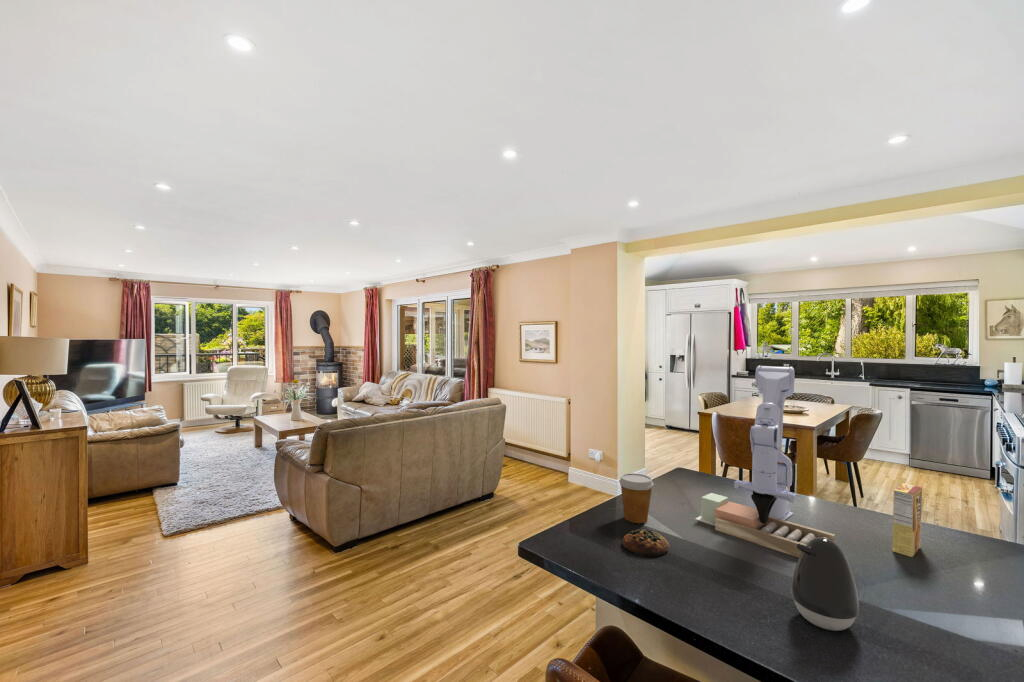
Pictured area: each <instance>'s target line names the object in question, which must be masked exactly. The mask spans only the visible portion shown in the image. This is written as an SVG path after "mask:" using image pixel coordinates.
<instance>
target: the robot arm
mask: <svg viewBox="0 0 1024 682" xmlns="http://www.w3.org/2000/svg"><path fill="white" fill-rule="evenodd" d="M795 372H796V371H795V368H794V367H793V366H768V365H758V366H756V368H755V378H754V379H755V384H756V388H757V390H758V393H759V394H760V395H762V403H760V404H759V405H757V407H756V414H755V420H754V424H753V425H751V426H750V431H749V433H750V434H749V440H750V446H751V447H750V448H751V449H750V450H751V451H750V452H751V453H752V457H751V458H752V461H751V463H752V466H751V467H752V469H751V470H752V471H751V481H744V480H739V479H737V480H735V481H734V483H733V484H734V489H736V490H743V491H744V490H745V491H748V492H752V494H751V495H750V497H751V500H752V502H753V504H754V505H755V509H757V511H758V514H759V518H760V522H761V523H764V524H765V523H766V522H768V517H769V516H770V517H774V518H777V519H781V520H785V521H787V519H788V518H791V516H793V514H794V512H791V511H790V503H793V504H795V503H796V502H797V493H795V492H791V491H790V490H789V488H790V487H791V486H792V484H793V462H792V460H791V458H789V456H787V455H786V454H784V453H783V450H782V449H783V431H784V430H783V426H784V425H783V424H784V406H785V402H786V400H787V398H789V397H791V396H793V395H794V394H793V393H794V392H795V375H796V374H795Z"/></svg>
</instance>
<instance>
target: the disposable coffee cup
mask: <svg viewBox="0 0 1024 682" xmlns="http://www.w3.org/2000/svg"><path fill="white" fill-rule="evenodd" d="M618 481H619V484H620V491H621V497H622V507H623V508H622V509H623V515H624V516H623V517H624V518H625V519H626V520H628V521H630V522H634V523H644V524H646V523H647V522H648V517H649V512H650V504H651V497H652V491H653V487H654V482H653V478H652V477H651V476H649V475H646V474H642V473H635V472H633V473H632V472H631V473H624V474H622V475H621V476H620V479H619V480H618ZM625 519H624V520H625ZM626 520H625V521H626ZM628 521H627V522H628ZM630 522H629V523H630ZM645 522H646V523H645ZM634 523H633V524H634Z"/></svg>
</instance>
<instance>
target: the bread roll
mask: <svg viewBox="0 0 1024 682" xmlns="http://www.w3.org/2000/svg"><path fill="white" fill-rule="evenodd" d="M622 544H623V547H624V548H625V549H626V550H628V551H629V550H630V551H629V552H632V553H633V552H634V553H633V554H635V553H637V554H636V555H638V554H639V555H638V556H642V555H644V556H643V557H646V556H648V557H647V558H654V557H659V556H660V557H661V556H662V555H664V554H666V552H667V551H669V548H670V543H669V541H668V540H667V539H666V538H665V537H664V536H662V534H660V533H658V532H656V531H652V530H650V529H638V528H637V529H634V530H631V531H629V532H628V533H627V534H625V535H624V537H623V539H622Z"/></svg>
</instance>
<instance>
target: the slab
mask: <svg viewBox="0 0 1024 682" xmlns="http://www.w3.org/2000/svg"><path fill="white" fill-rule="evenodd" d="M717 517H718V518H721V519H724V520H727V521H731V522H734V523H737V524H741V525H744V526H747V527H750V528H754V529H755V528H757V527H758V526H760V525H761V524H763V523H761V522H760V518H759V514H758V511H757V508H756V507H751V506H748V505H744V504H741V503H737V502H732V501H728V502H727V503H725V504H723V505H721V506H720V507H718V508H716V509H715V518H717Z"/></svg>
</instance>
